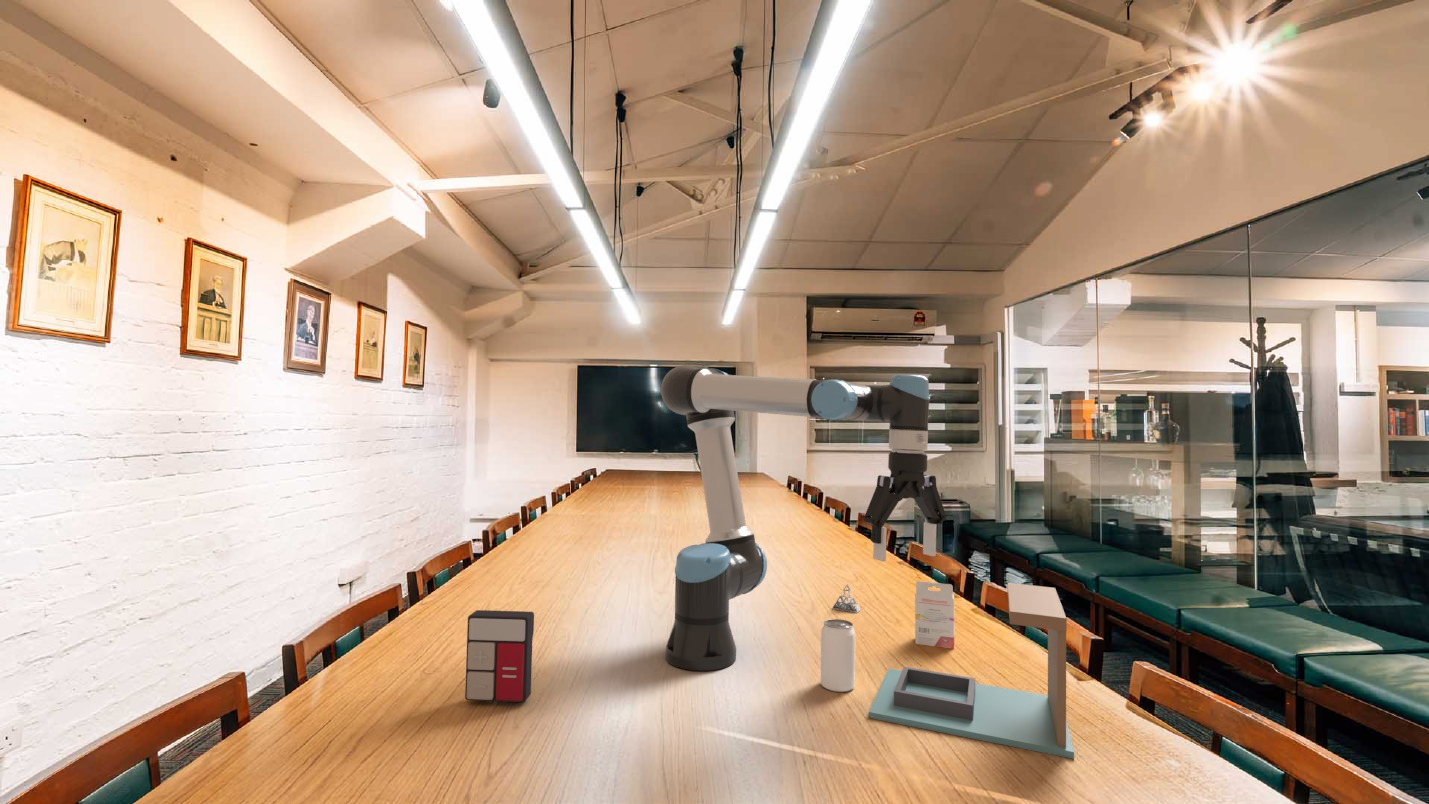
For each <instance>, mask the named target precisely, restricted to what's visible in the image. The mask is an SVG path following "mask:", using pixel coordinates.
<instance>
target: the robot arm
mask: <svg viewBox="0 0 1429 804" xmlns="http://www.w3.org/2000/svg"><path fill="white" fill-rule="evenodd" d="M660 386H661V387H660V394H661V398H662V401H663V403H664V404H665V406H666V407H667V408H668V409H669V410H670V411H672V412H674V413H675V414H678V415H682V416H685V417H686V423H687V428H689V429H690V430H691V431H692V432H694V434H695V435H694V436H695V441H696V447H697V454H698V459H699V467H700V475H701V480H702V486H703V492H704V498H705V499H704V500H705V506H706V512H707V513H706V514H707V518H708V524H709V525H708V526H709V534H708V535H707V538H706V539H705V543H700V544H691V545H688V546H685V547H684V548H682V549H681V550H680V551H679V552H678V553H677V555H676V560H675V562H676V564H675V568H674V574H675V582H674V583H675V587H674V589H675V590H674V592H675V593H674V600H675V601H674V620H673V621H674V622H673V625H672V628H671V631H670V634H669V636H668V640H667V643H666V647H665V660H666V662H667V663H669V664H670V665H672V666H674V667H677V668H679V667H680V669H684V670H690V671H715V670H720V669H724V668H727V667H729V666H731V665H733V664H734V663H735V662H736V660H737V646H736V641H735V639H734V635H733V632H732V629H731V626H730V622H729V621H730V620H729V615H730V612H729V611H730V607H729V606H730V600H732V599H735V598H736V597H739V596H741V595H746V594H748V593H750V592H752V591H753V590H754V589H756V588H757V587H759V586H760V585H761V584H762V582H763V581H764V579H765V576H766V574H767V572H768V571H767V570H768V560H767V556H766V553H765V551H764V550H763V548H762V547H760V546H759V544H758V543H756V538H755V533H754V531H752V530H751V529H750V528H748V527H747V523H746V517H745V511H744V505H743V499H742V495H741V494H742V492H741V486H740V482H739V474H738V468H737V462H736V456H735V449H734V444H733V443H734V442H733V438H732V431H731V426H732V425H733V424H734V422H735V420H736V417H735V412H747V413H757V414H758V413H759V414H768V415H769V414H770V415H771V414H772V415H783V416H794V417H795V416H796V417H807V418H808V417H809V418H816V419H826V420H829V421H830V420H831V421H841V420H843V421H847V422H849V421H850V422H853V421H862V422H863V421H864V422H889V431H888V432H889V434H888V435H889V436H888V437H889V438H888V449H890V450H891V451H889V453H888V458H887V459H888V461H887V462H888V463H887V465H888V466H887V469H888V470H889V471H890V475H888V476H887V475H878V476H877V480H876V487H875V489H874V492H873V494H872V497H871V499H870V502H869V504H868V507H867V509H866V511H865V514H864V517H863V522H864V523H867V524H868V526H869V525H870V526H871V542H872V543H873V546H872V547H873V551H872V552H873V553H872V559H874V560H876V561H880V562H886V560H887V558H886V557H887V532H888V531H887V529H888V528H887V527H885V524H886V522H887V521H888V520H889V517H890V516H891V515H892V513H893V511H894V510H895V509H896V506H897V505H898V504H899V502H901V501H902V500H903V499H914V501H915V503H916V504H917V506H918V508H919V509H920V511H921V513H922V515H923V516H924V517H925V518H924V519H926V522H923V533H922V534H923V539H922V541H923V542H922V554H923V555H926V556H930V557H937V556H936V555H937V552H936V551H937V539H938V536H939V535H938V534H939V533H938V531H939V525H942V524H943V523H944V521H945V520H946V519H947V514H946V512H945V508H944V506H943V503H942V499H941V497H940V493H939V490H938V488H937V478H936V475H933V474H931V475H930V474H924V473H926V472H927V471H928V455H927V453H925V451H928V444H929V443H928V441H929V440H928V439H929V436H928V435H929V408H930V400H931V397H930V390H929V389H930V387H929V379H928V378H927V376H925V375H920V374H894V375H892V376H891V378H890V382H889V384H883V385H881V384H880V385H877V384H859V383H854V382H848V381H845V380H843V379H835V378H833V379H832V378H831V379H810V378H795V377H794V378H792V377H790V378H788V377H774V376H773V377H771V376H754V375H752V376H750V375H735V374H733V375H732V374H728V373H727V372H724V371H722V370H719V369H717V368H712V367H709V368H707V367H701V366H696V365H695V366H694V365H689V364H688V365H687V364H683V365H679V366H676V367H674V368H672V369H671V370H669V371H668V372H667V373H666V374H665V376H664V377H663V380H662V382H661V385H660Z"/></svg>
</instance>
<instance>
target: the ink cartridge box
mask: <svg viewBox="0 0 1429 804" xmlns="http://www.w3.org/2000/svg"><path fill="white" fill-rule="evenodd" d="M915 584H916V585H915V588H916V589H915V598H914V599H915V600H914V601H915V602H914V605H915V608H914V609H915V611H914V612H915V613H914V615H915V616H914V618H915V620H914V621H915V622H914V623H915V626H914V628H915V629H914V634H915V635H914V636H915V637H914V639H915V640H914V643H915V644H916V645H921V646H922V645H923V646H930V647H935V648H943V649H944V648H945V649H952V650H954V649H955V594H954V591H953V590H954V589H953V588H954V586H953V585H952V584H950V583H941V582H940V583H939V582H931V581H921V580H918V581H916V583H915ZM929 588H936V589H940V590H933V589H931V590H930V589H929Z"/></svg>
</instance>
